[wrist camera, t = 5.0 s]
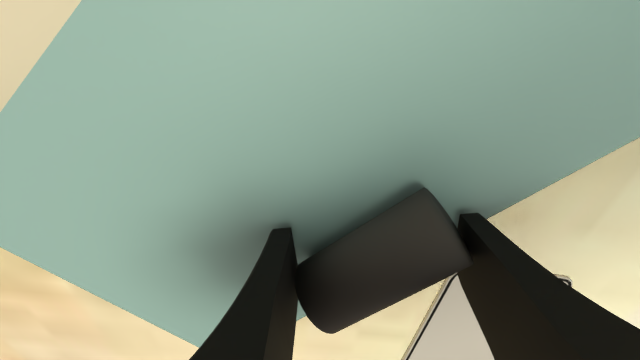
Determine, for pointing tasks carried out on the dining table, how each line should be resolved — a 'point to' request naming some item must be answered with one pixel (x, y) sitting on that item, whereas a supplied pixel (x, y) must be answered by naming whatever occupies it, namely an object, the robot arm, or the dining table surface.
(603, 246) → the dining table surface
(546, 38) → the lid
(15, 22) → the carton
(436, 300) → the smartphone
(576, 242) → the dining table surface
